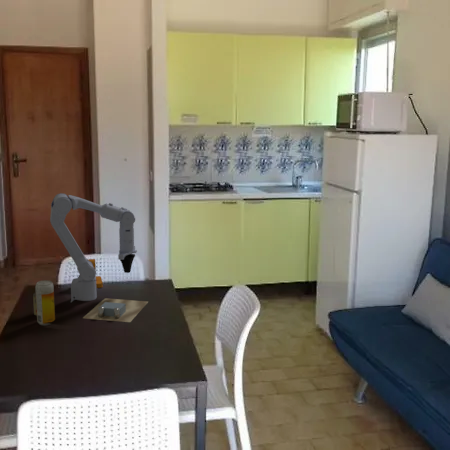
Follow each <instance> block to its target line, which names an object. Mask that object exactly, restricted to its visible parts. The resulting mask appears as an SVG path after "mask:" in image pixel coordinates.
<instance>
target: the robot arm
mask: <svg viewBox="0 0 450 450" xmlns="http://www.w3.org/2000/svg"><path fill="white" fill-rule="evenodd" d="M71 209H72V210H73V211H75V210H78V209H83V210H86V211H87V210H88V211H91V212H94V213H97V214H99V215H100V217H101V218H102V219H106V220H109V221H112V222H116V223H118V222H119V229H118V231H119V250H118V252H119V253H118V258H117V259H118V260H119V261H120V263H121V265H122V268H123V272H124V273H126V274H130V272H131V269H132V265H133V262H134V259H135V258H136V254H137V252H138V250H137V249H136V246H135V228H134V223H135V222H136V217H135V215H134V213H133V212H132V211H130V210H129V209H128V208H124V207H118V206H116V205H114V204H113V203H112V202H109V203H104V204H99V203H96V202H93V201H91V200H87V199H84V198H81V197H79V196H76V195H71V194H68V195H67V194H66V193H61V192H60V193H57V194H55V196H54V198H53V199H52V201H51V204H50V215H49V216H50V218H49V221H50V224H51V227H52V228H53V229H54V231H55V233H56V234H57V237H58V238H59V239H60V241H61V243H62V244H63V246H64V247H65V249H66V251H67V252H68V254H69V255H70V257H71V258H72V261H73V262H74V264H75V266H76V268H77V272H78V274H79V275H78V276H77V278H73V279H72V280H71V283H70V296H71V297H70V298H71V300H70V303H72V302H74V301H75V300H77V301H82V302H89V301H91V302H92V301H94V300H96V299H97V297H98V295H97V288H96V277H95V276H97V270H95V269H94V267H93V264H92V263H91V262H90V261H89V260H87V257H86V256H85V254H84V253H83V251H82V249H81V248H80V246H79V245H78V243H77V241H76V239H75V238H74V236H73V234H72V233H71V231H70V230H69V228H68V226H67V224H66V223H65V220H66V217H67V215H68V214H69V213H70V211H71Z"/></svg>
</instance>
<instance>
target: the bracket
mask: <svg viewBox="0 0 450 450" xmlns="http://www.w3.org/2000/svg"><path fill="white" fill-rule="evenodd" d="M86 259H87V258H86ZM87 260H89V261H90V262H91V263H92V264H93V267H94V269H95V270H96V267H97V266H96V259H95V258H90V259H89V258H88V259H87ZM96 271H97V270H96ZM95 277H96V289H101V288H103V287H104V285H103V280H102V276H100V275H96V276H95Z"/></svg>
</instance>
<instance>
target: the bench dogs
mask: <svg viewBox="0 0 450 450" xmlns="http://www.w3.org/2000/svg"><path fill="white" fill-rule="evenodd" d="M98 316H99V317H100V318H102V317H104V307H102V306H101V307H98ZM114 318H115V319H119V318H120V308H114Z"/></svg>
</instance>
